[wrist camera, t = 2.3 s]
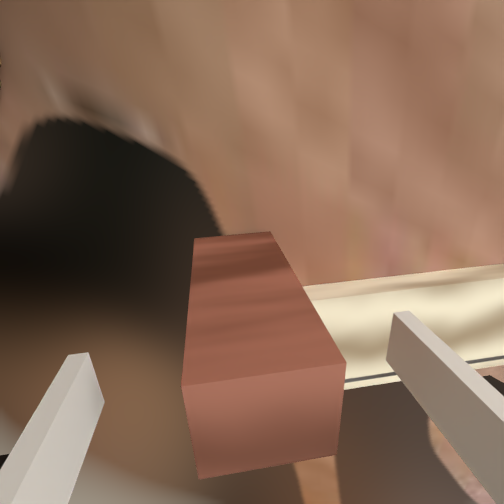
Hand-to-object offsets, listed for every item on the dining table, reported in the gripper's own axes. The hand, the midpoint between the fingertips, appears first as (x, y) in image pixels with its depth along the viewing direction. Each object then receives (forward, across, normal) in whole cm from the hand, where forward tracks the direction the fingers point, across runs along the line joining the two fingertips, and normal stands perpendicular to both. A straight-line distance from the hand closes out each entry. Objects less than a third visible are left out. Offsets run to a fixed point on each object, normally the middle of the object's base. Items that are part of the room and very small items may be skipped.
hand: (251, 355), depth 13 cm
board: (+9, +12, -6) cm, 16 cm away
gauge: (+8, 0, -5) cm, 10 cm away
